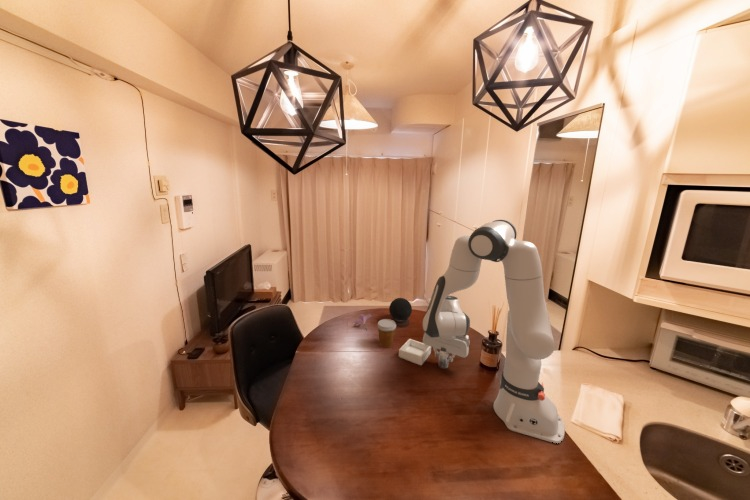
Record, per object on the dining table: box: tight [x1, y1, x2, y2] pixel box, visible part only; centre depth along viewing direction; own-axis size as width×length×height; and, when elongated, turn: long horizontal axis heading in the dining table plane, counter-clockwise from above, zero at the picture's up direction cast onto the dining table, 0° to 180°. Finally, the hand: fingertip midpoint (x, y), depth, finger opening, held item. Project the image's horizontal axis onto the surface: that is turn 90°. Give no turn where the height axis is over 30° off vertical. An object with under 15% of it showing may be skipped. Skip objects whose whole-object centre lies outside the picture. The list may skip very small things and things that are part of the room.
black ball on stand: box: [388, 297, 413, 328], centre depth 167 cm, size 13×13×15 cm
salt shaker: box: [437, 347, 450, 370], centre depth 129 cm, size 4×4×11 cm
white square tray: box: [398, 338, 432, 366], centre depth 137 cm, size 12×12×4 cm
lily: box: [352, 313, 373, 332], centre depth 161 cm, size 12×12×10 cm
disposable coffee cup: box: [376, 318, 397, 349], centre depth 145 cm, size 10×10×12 cm
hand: (443, 358), depth 130 cm, fingers open, 5 cm apart
